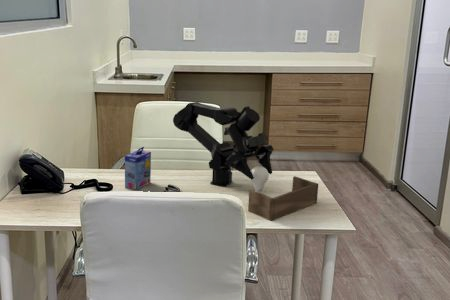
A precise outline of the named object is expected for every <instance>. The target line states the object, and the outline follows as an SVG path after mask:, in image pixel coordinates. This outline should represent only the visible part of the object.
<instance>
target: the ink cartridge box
mask: <svg viewBox="0 0 450 300" xmlns="http://www.w3.org/2000/svg"><path fill="white" fill-rule="evenodd" d="M144 148H145V146H141V147H140V148H138V149H137V150H135V151H133V152H130V153H128V154H126V155H124V188H127V189H131V190H134V191H137V190H139V189H141V188H143V187H145V186H147V185H148V184H150V183H151V171H152V169H151V168H152V165H151V164H152V152H151V151H148V150H144Z"/></svg>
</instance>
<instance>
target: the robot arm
mask: <svg viewBox="0 0 450 300" xmlns="http://www.w3.org/2000/svg"><path fill="white" fill-rule="evenodd" d="M199 116H202V117H206V118H209V119H212V120H213V121H214V122H215V123H217V124H218V125H220V126H226V125H229V126H227V127H224V131H223V135H224V136H229V137H230V138H231V140H232V142H233V143H234V145H233V146H232V145H231V144H230V143H229V142H222V143H220V142H219V141H218V140H217V139H215V138H214V136H213V135H211V134H210V133H209V132H208V131H206V130H205V128H203V127H202V126H201V125H200V124H199V123H198V118H199ZM260 120H261V118H260V114H259V113H258V112H257V111H256V110H255V109H252V108H251V107H250V106H249V105H248V106H247V105H246V106H244V107H243V108H242V110H241V111H238V109H237V108H235V107H216V106H212V105H208V104H205V103H201V102H198V101H193V102H188V103H187V104H186V105H185V107H183V108H182V109H179V111H177V112H176V113H175V114H174V115H173V118H172V123H173V125H174V127H176V128H177V129H178V130H180V131H182V132H186V133H189V134H190V136H191V137H193V138H194V139H195V140H196V141H197V142H198V143H200V144H201V145H202V146H203V147H204V148H206V150H207V151H208V152H209V153H210V155H211V159H210V161H209V162H208V167H209V169H211V170H212V176H211V177H212V178H211V179H212V180H211V181H210V182H209V184H211V185H216V186H220V187H227V186H228V185H231V184H232V183H234V182H233V172H232V169H235V170H236V171H237V172H240V173H241V174H243V175H244V176H246V177H247V178H249V179H250V180H251V181H252V179H254V177H253V174H252V172H251V171H252V169H251V168H250V166H249V165H248V159H252V158H256V159H257V162H258V163H259V164H260V166H262V167H264V168H266V169H267V171H268V173H269V175H272V174H273V169H272V168H273V167H272V163H271V156H272V155H273V151H274V150H275V149H274V147H273V146H272V145H271V144H267V142H268V139H269V138H268V135H267V134H266V132H260V133H258V134H257V135H256V136H253V135H249V134H248V132H249V131H251V130H252V129H253V127H255V126H256V125H257V123H258V122H259V121H260ZM261 145H262V146H261ZM260 146H261V147H260ZM235 149H237V151H236V150H235Z"/></svg>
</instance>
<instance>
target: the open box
mask: <svg viewBox="0 0 450 300" xmlns="http://www.w3.org/2000/svg"><path fill="white" fill-rule="evenodd" d="M291 187H292V189H291V191H288V192H286V193H283V194H281V195H277V196H274V197H271V196H268V195H266V194H263V193H262V194H261V193H258V192H255V190H252V189H250V190H249V191H248V207H247V209H248V210H247V212H249V213H252V214H254V215H257V216H259V217H261V218H263V219H266V220H268V221H271V222H272V221H275V220H277V219H280V218H283V217H286V216H288V215H291V214H293V213H296V212H298V211H301V210H304V209H306V208H308V207H311V206H315V205H316V204H317V203H318V192H319V183H316V182H314V181H311V180H308V179H304V178H302V177H299V176H296V175H295V176H293V177H292V186H291Z"/></svg>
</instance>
